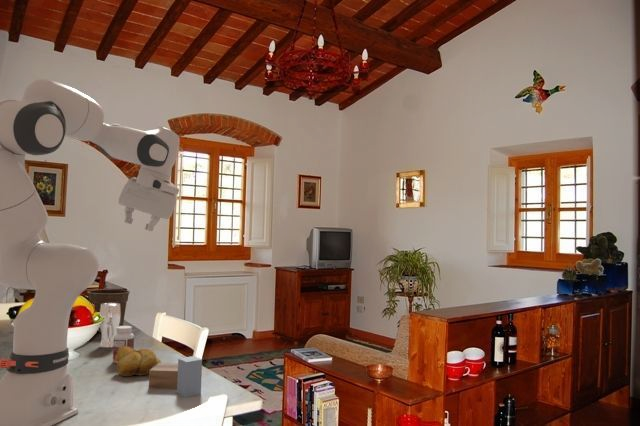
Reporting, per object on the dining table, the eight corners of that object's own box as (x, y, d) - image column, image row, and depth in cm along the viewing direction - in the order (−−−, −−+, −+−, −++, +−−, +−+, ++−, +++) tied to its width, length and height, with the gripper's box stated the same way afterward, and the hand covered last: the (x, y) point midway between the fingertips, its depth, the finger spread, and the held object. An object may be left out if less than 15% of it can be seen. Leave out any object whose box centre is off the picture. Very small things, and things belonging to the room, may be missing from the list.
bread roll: (160, 367, 160) (161, 341, 161) (163, 376, 151) (164, 348, 152) (115, 371, 155) (116, 344, 156) (115, 380, 146) (116, 351, 147)
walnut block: (178, 390, 140) (178, 371, 140) (148, 388, 140) (149, 370, 140) (186, 381, 148) (187, 363, 148) (158, 380, 148) (159, 362, 148)
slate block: (200, 394, 136) (202, 359, 136) (185, 397, 133) (186, 362, 133) (192, 389, 139) (193, 356, 140) (177, 392, 136) (178, 358, 137)
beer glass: (98, 344, 188) (99, 303, 189) (118, 343, 191) (120, 302, 192) (98, 348, 182) (100, 305, 182) (119, 347, 185) (121, 305, 185)
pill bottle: (129, 358, 170) (130, 324, 170) (136, 362, 165) (137, 327, 166) (109, 360, 166) (111, 326, 167) (116, 365, 161) (117, 329, 162)
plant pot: (121, 325, 225) (122, 288, 225) (134, 331, 212) (135, 292, 213) (81, 329, 215) (82, 289, 215) (92, 336, 202) (93, 294, 203)
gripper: (121, 173, 156) (107, 217, 155) (167, 185, 146) (152, 232, 145) (137, 178, 162) (124, 221, 161) (183, 191, 151) (169, 236, 150)
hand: (138, 226), depth 153 cm, fingers open, 8 cm apart
